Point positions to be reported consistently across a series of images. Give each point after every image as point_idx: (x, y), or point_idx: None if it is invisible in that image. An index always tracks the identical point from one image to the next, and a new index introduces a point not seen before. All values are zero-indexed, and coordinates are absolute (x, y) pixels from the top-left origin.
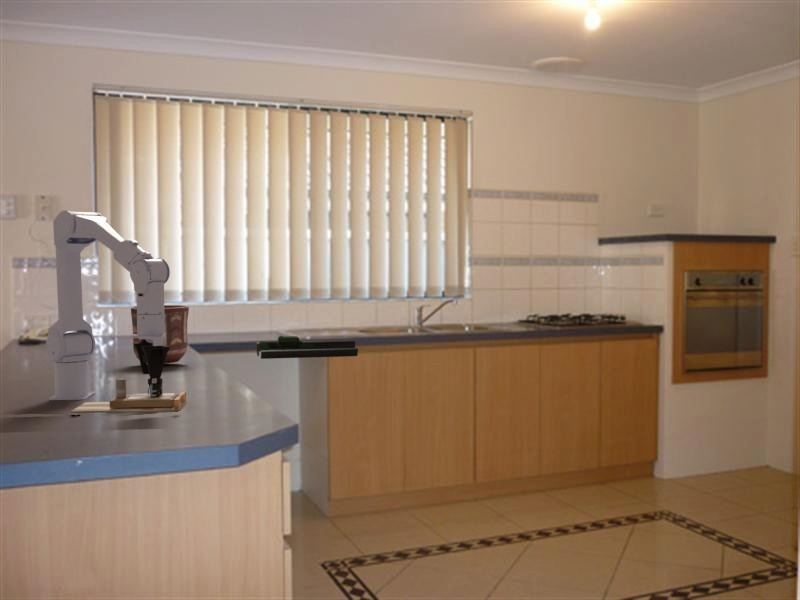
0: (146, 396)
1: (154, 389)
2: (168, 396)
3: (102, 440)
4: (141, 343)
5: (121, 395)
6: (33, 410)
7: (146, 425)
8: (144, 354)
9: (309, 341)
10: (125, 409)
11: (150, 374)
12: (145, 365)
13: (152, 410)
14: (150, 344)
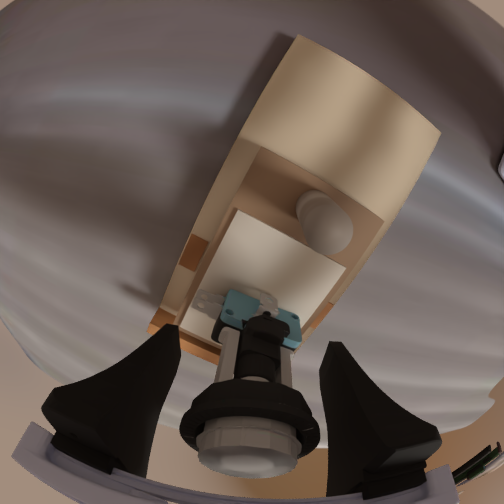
0: (259, 285)
1: (219, 316)
2: None
3: (4, 108)
4: (373, 471)
5: (297, 206)
6: (440, 19)
7: (62, 201)
8: (305, 422)
9: (460, 481)
10: (226, 191)
11: (156, 333)
12: (336, 377)
13: (178, 260)
14: (343, 483)
